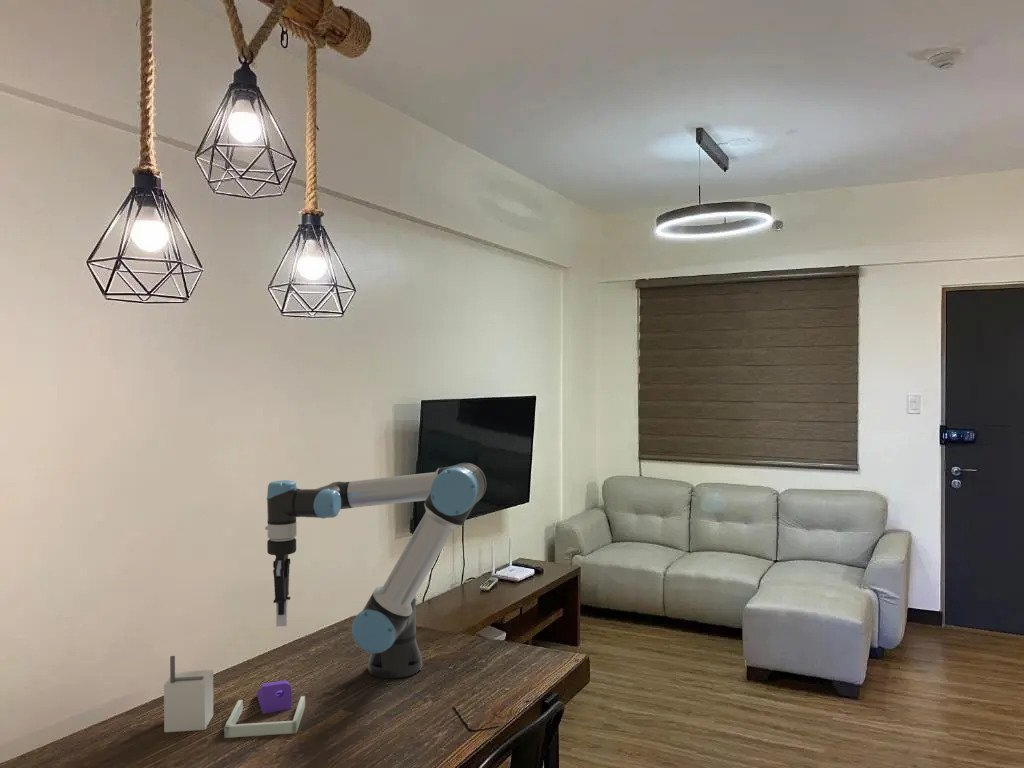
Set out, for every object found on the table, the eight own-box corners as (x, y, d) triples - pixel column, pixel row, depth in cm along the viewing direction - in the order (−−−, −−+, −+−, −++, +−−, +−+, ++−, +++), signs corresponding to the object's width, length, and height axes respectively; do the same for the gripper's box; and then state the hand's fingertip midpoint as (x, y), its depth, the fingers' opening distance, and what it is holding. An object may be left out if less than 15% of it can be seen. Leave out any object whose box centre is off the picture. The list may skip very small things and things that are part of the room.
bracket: (291, 709, 191) (291, 682, 191) (262, 715, 188) (262, 686, 188) (284, 692, 202) (284, 666, 202) (257, 696, 199) (256, 670, 199)
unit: (213, 714, 187) (213, 644, 187) (204, 729, 179) (204, 656, 179) (175, 716, 186) (174, 646, 186) (164, 732, 178) (163, 659, 178)
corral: (305, 706, 192) (305, 696, 192) (296, 733, 177) (296, 722, 177) (238, 710, 190) (238, 700, 190) (224, 737, 175) (224, 726, 175)
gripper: (271, 534, 214) (271, 618, 214) (263, 543, 201) (263, 633, 201) (299, 533, 215) (299, 617, 215) (292, 542, 202) (292, 632, 202)
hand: (281, 625), depth 208 cm, fingers closed
